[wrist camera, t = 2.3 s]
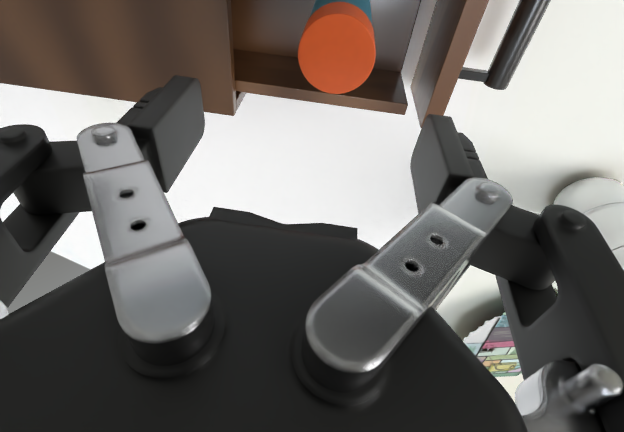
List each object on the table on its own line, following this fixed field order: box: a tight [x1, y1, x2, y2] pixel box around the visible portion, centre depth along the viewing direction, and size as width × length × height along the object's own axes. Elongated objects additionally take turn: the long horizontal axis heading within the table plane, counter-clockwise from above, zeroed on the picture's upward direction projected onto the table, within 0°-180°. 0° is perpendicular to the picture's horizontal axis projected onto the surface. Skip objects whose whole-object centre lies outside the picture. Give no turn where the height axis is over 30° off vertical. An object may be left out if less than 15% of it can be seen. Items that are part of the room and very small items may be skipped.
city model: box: [463, 313, 522, 377], centre depth 53 cm, size 25×23×6 cm
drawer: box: [231, 0, 551, 128], centre depth 23 cm, size 22×12×7 cm, turn 84°
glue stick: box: [298, 0, 376, 94], centre depth 20 cm, size 4×4×12 cm
